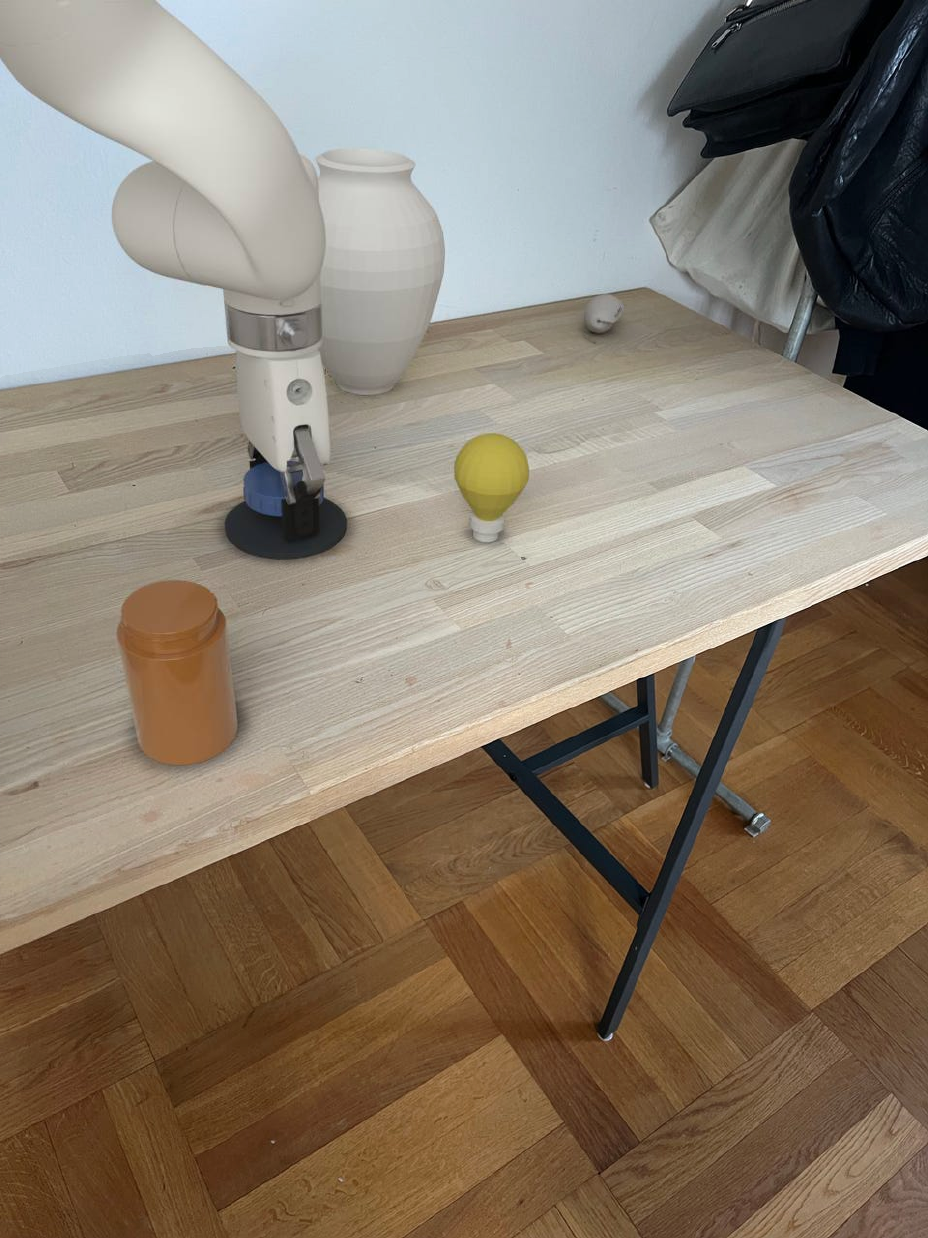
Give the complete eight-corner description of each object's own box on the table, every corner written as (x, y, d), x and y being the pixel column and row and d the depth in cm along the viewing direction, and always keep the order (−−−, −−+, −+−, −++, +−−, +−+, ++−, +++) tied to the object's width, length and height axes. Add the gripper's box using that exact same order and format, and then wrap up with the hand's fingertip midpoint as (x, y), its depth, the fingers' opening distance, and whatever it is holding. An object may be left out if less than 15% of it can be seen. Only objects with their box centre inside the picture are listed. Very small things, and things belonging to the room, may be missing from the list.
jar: (153, 778, 60) (128, 650, 53) (126, 715, 64) (100, 591, 58) (251, 745, 63) (239, 620, 56) (219, 687, 67) (204, 566, 61)
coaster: (250, 571, 79) (249, 565, 79) (208, 511, 86) (208, 505, 86) (366, 542, 84) (366, 536, 84) (318, 487, 91) (317, 482, 91)
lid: (306, 472, 87) (305, 454, 86) (336, 507, 82) (335, 488, 81) (233, 486, 84) (232, 468, 83) (260, 523, 79) (259, 503, 78)
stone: (614, 346, 128) (620, 310, 125) (576, 340, 129) (581, 304, 126) (623, 324, 136) (629, 289, 133) (587, 318, 137) (592, 284, 134)
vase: (343, 426, 102) (339, 182, 87) (263, 372, 113) (248, 146, 98) (467, 393, 112) (484, 168, 97) (383, 346, 122) (386, 136, 107)
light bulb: (532, 528, 88) (544, 431, 82) (504, 562, 83) (515, 462, 77) (467, 510, 90) (475, 414, 84) (437, 542, 85) (443, 442, 79)
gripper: (364, 355, 70) (364, 554, 80) (278, 285, 81) (287, 467, 92) (269, 369, 66) (282, 575, 77) (193, 294, 78) (213, 482, 88)
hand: (285, 515), depth 84 cm, fingers closed on lid, 7 cm apart
